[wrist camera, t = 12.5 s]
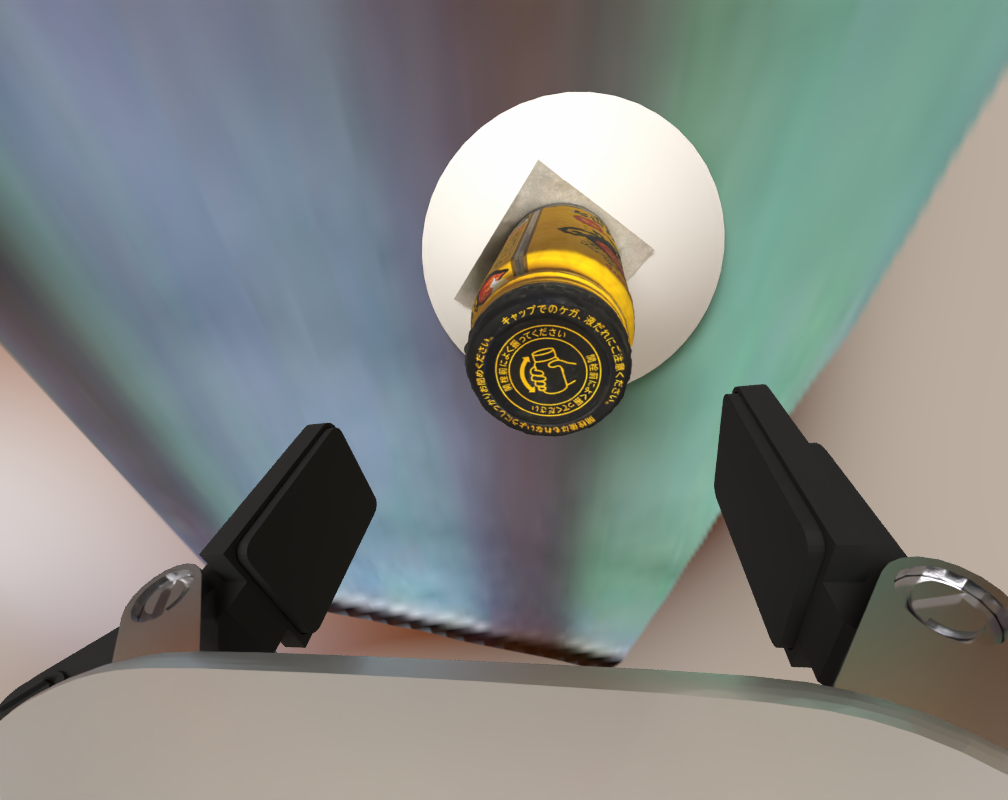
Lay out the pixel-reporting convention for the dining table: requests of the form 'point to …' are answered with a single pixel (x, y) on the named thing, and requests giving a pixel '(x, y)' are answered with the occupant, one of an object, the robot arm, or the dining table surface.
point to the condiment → (552, 310)
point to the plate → (607, 182)
